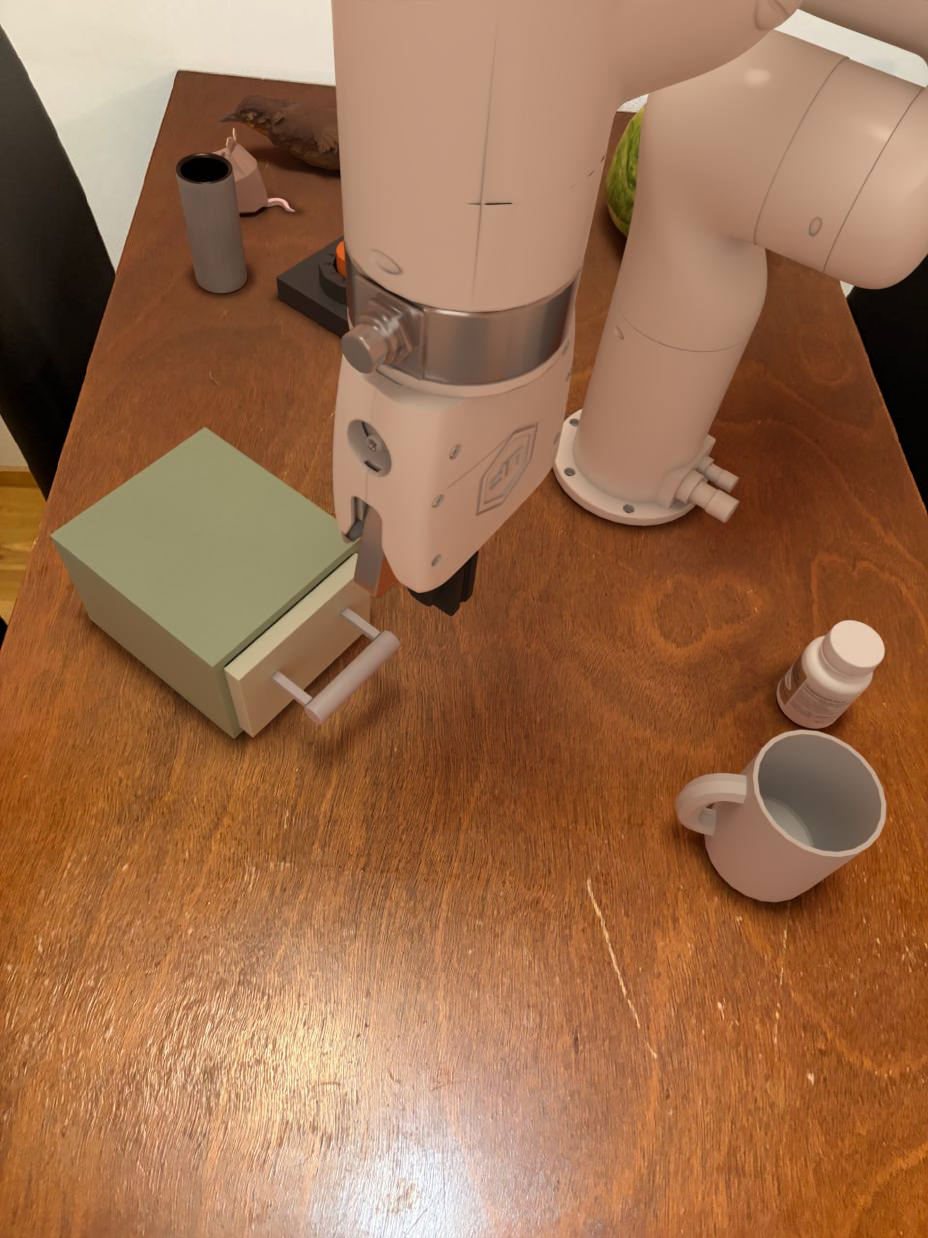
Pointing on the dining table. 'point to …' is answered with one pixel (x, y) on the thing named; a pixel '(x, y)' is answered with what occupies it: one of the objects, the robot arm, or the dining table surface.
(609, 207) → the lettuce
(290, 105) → the bird sculpture
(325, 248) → the control box
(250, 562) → the cabinet
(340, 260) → the button
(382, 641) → the drawer
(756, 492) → the dining table surface
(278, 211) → the dining table surface
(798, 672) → the pill bottle
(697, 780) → the cup
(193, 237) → the gray hollow cylinder
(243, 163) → the mouse figurine
